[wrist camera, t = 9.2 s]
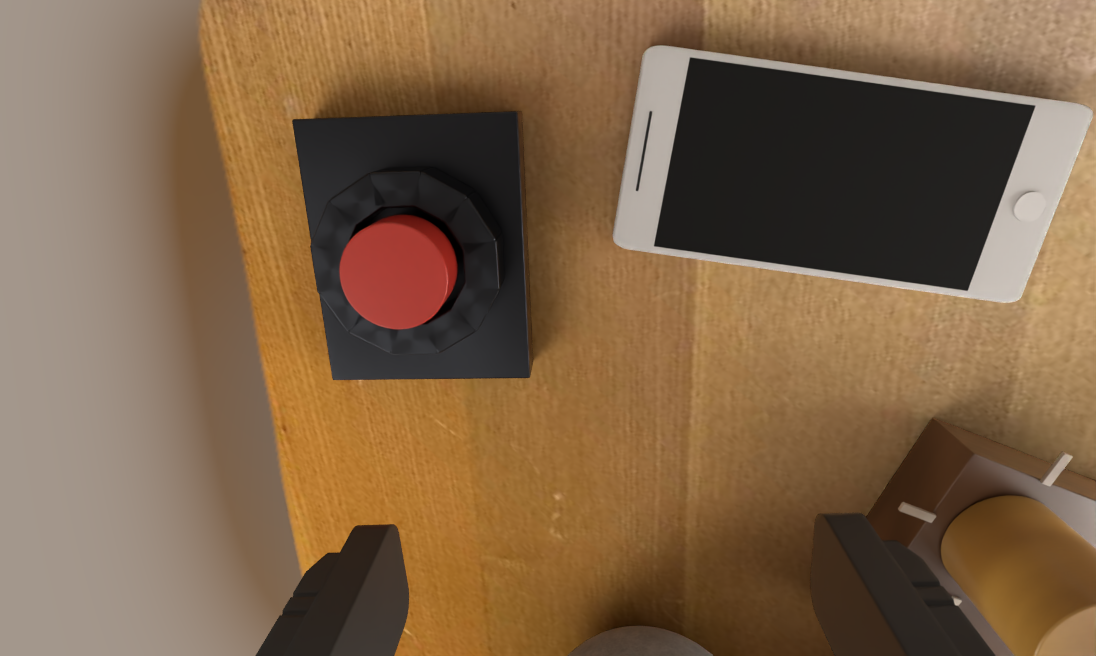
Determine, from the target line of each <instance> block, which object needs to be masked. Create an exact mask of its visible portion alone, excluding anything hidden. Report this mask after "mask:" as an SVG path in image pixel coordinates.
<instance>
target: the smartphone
mask: <svg viewBox="0 0 1096 656" xmlns="http://www.w3.org/2000/svg"><path fill="white" fill-rule="evenodd" d="M1092 117H1093V111H1092V110H1091V109H1090V108H1089V107H1087V106H1085V105H1082V104H1078V103H1072V102H1065V101H1058V100H1051V99H1044V98H1036V97H1029V96H1022V95H1015V94H1008V93H1001V92H994V91H987V90H979V89H972V88H965V87H958V86H951V85H944V84H937V83H930V82H922V81H915V80H908V79H901V78H894V77H887V76H880V75H872V74H865V73H858V72H851V71H844V70H837V69H830V68H823V67H815V66H808V65H801V64H794V63H787V62H780V61H773V60H765V59H758V58H751V57H744V56H737V55H730V54H723V53H716V52H708V51H701V50H694V49H687V48H680V47H673V46H663V45H658V46H653V47H650V48H648V49H647V50H646V51H645V52H644V54H643V56H642V62H641V68H640V74H639V80H638V86H637V92H636V98H635V104H634V110H633V116H632V122H631V128H630V134H629V140H628V146H627V152H626V157H625V163H624V169H623V175H622V181H621V187H620V193H619V199H618V205H617V211H616V217H615V223H614V229H613V239H614V242H615V243H616V244H617V245H618V246H620V247H622V248H625V249H629V250H636V251H643V252H650V253H657V254H664V255H671V256H678V257H685V258H692V259H699V260H706V261H713V262H720V263H727V264H735V265H742V266H749V267H756V268H763V269H770V270H777V271H784V272H791V273H798V274H805V275H812V276H819V277H826V278H833V279H840V280H847V281H854V282H861V283H868V284H875V285H882V286H889V287H896V288H903V289H910V290H917V291H924V292H931V293H938V294H945V295H952V296H960V297H967V298H974V299H981V300H988V301H995V302H1005V303H1008V302H1014V301H1017V300H1019V299H1020V298H1021V296H1022V294H1023V291H1024V289H1025V286H1026V284H1027V281H1028V279H1029V276H1030V273H1031V271H1032V268H1033V266H1034V263H1035V261H1036V258H1037V256H1038V253H1039V251H1040V248H1041V246H1042V243H1043V241H1044V238H1045V236H1046V233H1047V231H1048V228H1049V226H1050V223H1051V221H1052V218H1053V216H1054V213H1055V211H1056V208H1057V206H1058V203H1059V201H1060V198H1061V195H1062V193H1063V190H1064V188H1065V185H1066V183H1067V180H1068V178H1069V175H1070V173H1071V170H1072V168H1073V165H1074V163H1075V160H1076V158H1077V155H1078V153H1079V150H1080V148H1081V145H1082V143H1083V140H1084V138H1085V135H1086V133H1087V130H1088V128H1089V125H1090V123H1091V120H1092Z"/></svg>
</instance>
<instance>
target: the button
mask: <svg viewBox="0 0 1096 656" xmlns="http://www.w3.org/2000/svg"><path fill="white" fill-rule="evenodd" d="M339 272H340V281H341V286H342V288H343V291H344V294H345V296H346V298H347V299H348V301H349V303H350V304H351V305H352V307H353V308H354V309H355V310H356V311H357V312H358V313H359V314H360V315H361V316H363V317H364V318H365V319H367V320H368V321H370V322H372V323H374V324H376V325H378V326H382V327H385V328H390V329H408V328H413V327H416V326H419V325H421V324H423V323H425V322H427V321H428V320H429V319H431V318H432V317H433V316H434V315H435V314H436V313H437V312H438V311H439V309H440V308H441V307H442V305H443V304H444V302H445V301H446V300H447V298H448V297H449V296H450V294H451V292H452V291H453V288H454V286H455V284H456V280H457V274H458V264H457V258H456V254H455V251H454V249H453V246H452V244H451V243H450V241H449V239H448V238H447V237H446V235H445V234H444V233H443V232H442V231H441V230H440V229H439V228H438V227H437V226H435V225H434V224H433V223H431V222H429V221H427V220H425V219H423V218H421V217H417V216H413V215H406V214H400V215H392V216H388V217H386V218H383V219H381V220H379V221H377V222H375V223H373V224H371V225H370V226H368V227H366V228H364V229H362V230H361V231H359V232H358V233H357V234H355V235H354V236H353V237H352V238H351V240H350V241H349V242H348V244H347V245H346V247H345V249H344V251H343V254H342V257H341V261H340V270H339Z"/></svg>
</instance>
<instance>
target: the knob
mask: <svg viewBox="0 0 1096 656" xmlns="http://www.w3.org/2000/svg"><path fill="white" fill-rule="evenodd" d="M941 557H942V561H943V564H944V566H945V568H946V570H947V571H948V573H949V574H950V575H951V576H952V578H953V579H954V580H955V582H956V583H957V584H958V585H959V587H960V588H961V589H962V590H963V592H964V593H965V594H966V595H967V597H968V598H969V599H970V600H971V602H972V603H973V604H974V605H975V607H976V608H977V609H978V610H979V612H980V613H981V614H982V616H983V617H984V618H985V619H986V621H987V622H988V623H989V624H990V626H991V627H992V628H993V629H994V631H995V632H996V633H997V634H998V636H999V637H1000V638H1001V639H1002V641H1003V642H1004V643H1005V645H1006V646H1007V647H1008V648H1009V650H1010V651H1011V652H1012V653H1013V655H1014V656H1096V548H1095V547H1094V546H1092V545H1091V544H1090V543H1089V542H1088V541H1087V540H1085V539H1084V538H1083V537H1082V536H1081V535H1080V534H1078V533H1077V532H1076V531H1075V530H1074V529H1072V528H1071V527H1070V526H1069V525H1068V524H1067V523H1065V522H1064V521H1063V520H1062V519H1061V518H1060V517H1058V516H1057V515H1056V514H1055V513H1054V512H1052V511H1051V510H1050V509H1049V508H1048V507H1046V506H1045V505H1044V504H1042V503H1040V502H1038V501H1036V500H1034V499H1031V498H1027V497H1023V496H1015V495H1006V496H998V497H993V498H989V499H986V500H983V501H980V502H978V503H976V504H974V505H972V506H970V507H969V508H967V509H966V510H964V511H963V512H962V513H960V514H959V515H958V516H957V517H956V518H955V519H954V520H953V521H952V523H951V524H950V525H949V527H948V528H947V530H946V532H945V534H944V537H943V539H942V544H941Z"/></svg>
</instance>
